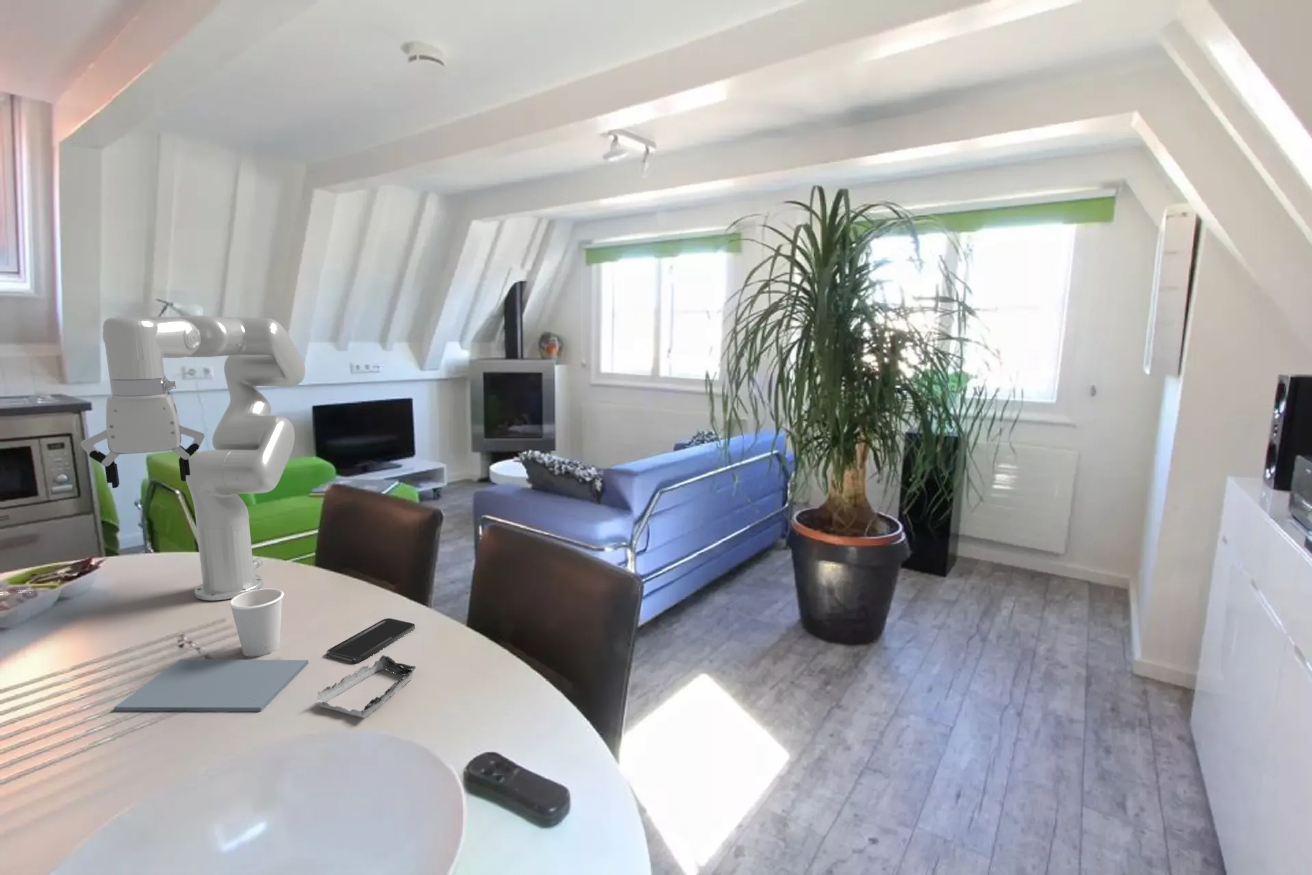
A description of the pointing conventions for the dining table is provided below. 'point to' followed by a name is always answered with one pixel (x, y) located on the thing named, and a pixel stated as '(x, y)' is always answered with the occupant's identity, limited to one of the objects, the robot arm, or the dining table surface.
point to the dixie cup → (258, 620)
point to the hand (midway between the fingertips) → (150, 482)
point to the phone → (370, 640)
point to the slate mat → (214, 686)
